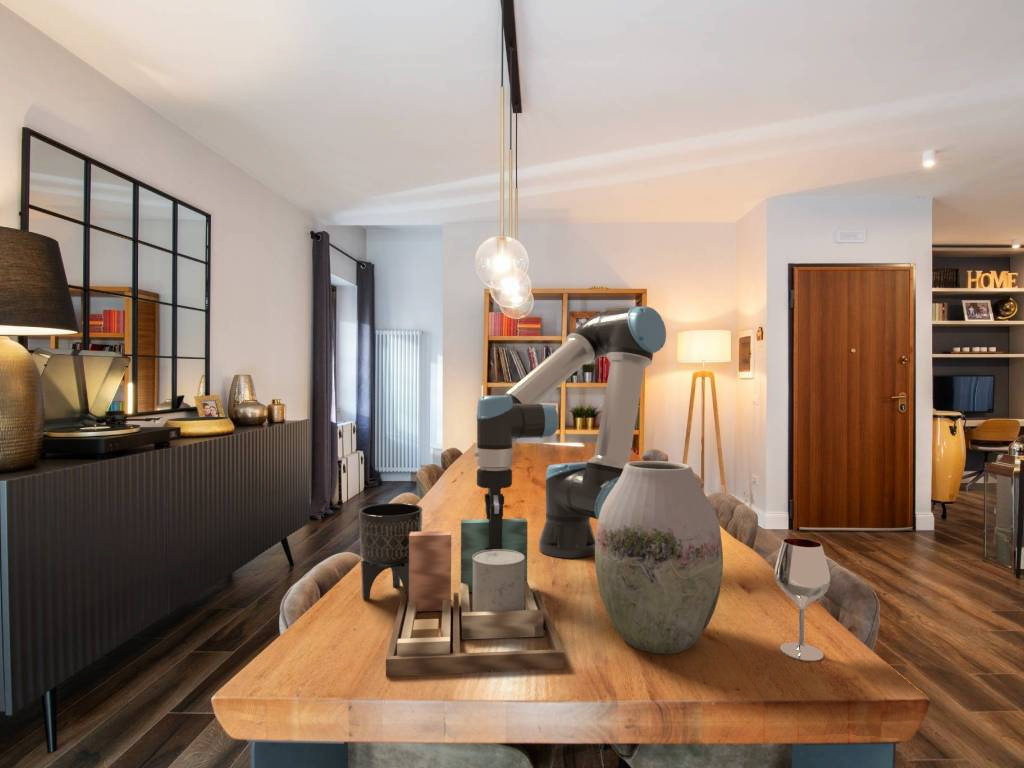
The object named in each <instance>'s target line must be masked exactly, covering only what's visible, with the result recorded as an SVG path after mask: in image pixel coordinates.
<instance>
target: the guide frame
mask: <svg viewBox="0 0 1024 768" xmlns="http://www.w3.org/2000/svg"><path fill="white" fill-rule="evenodd" d="M459 598H460V595H459V592H453V601H452V602H453V604H452V605H453V609H452V611H453V615H452V616H453V617H452V618H453V620H452V622H453V623H452V624H453V625H452V632H453V633H452V638H453V639H452V653H450V654H430V655H404V656H397V641H398V639H401V635H402V631H403V626H404V621H405V616H406V612H407V607H408V601H407V594H404V593H402V594H401V597H400V601H399V604H398V605H399V606H398V609H397V614H396V617H395V621H394V626H393V630H392V632H391V638H390V641H389V646H388V649H387V653H386V658H385V677H392V676H394V677H396V676H419V675H422V676H423V675H439V674H440V675H443V674H463V673H465V674H466V673H467V674H468V673H487V672H489V673H490V672H509V671H515V672H516V671H533V670H537V671H538V670H554V669H555V670H557V669H564V668H565V666H564V665H565V653H564V650H563V649H564V648H563V646H562V644H561V642H560V639H559V637H558V634H557V631H556V629H555V626H554V625H553V622H552V620H551V617H550V614H549V611H548V610H547V607H546V605H545V602H544V599H543V597H542V595H541V592H540V590H539V589H536V590H535V589H534V590H533V598H534V601H535V604H536V606H537V609H538V610H542V611H543V634H544V636H545V638H546V642H547V644H548V647H549V649H539V650H535V649H534V650H531V649H530V650H512V651H510V650H508V651H485V652H483V651H482V652H481V651H480V652H462V653H461V652H460V650H461V649H460V605H459V603H460V599H459Z"/></svg>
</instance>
